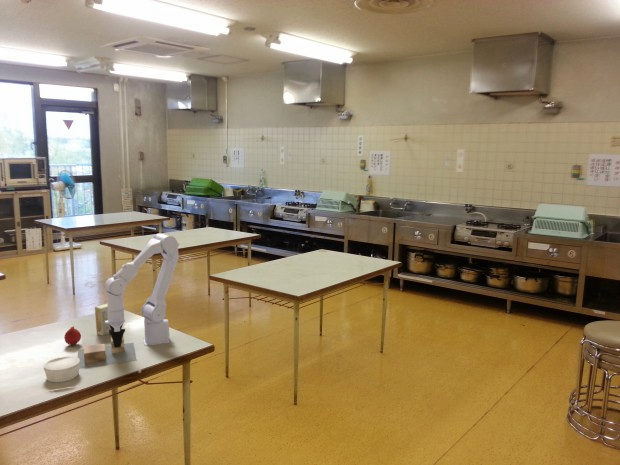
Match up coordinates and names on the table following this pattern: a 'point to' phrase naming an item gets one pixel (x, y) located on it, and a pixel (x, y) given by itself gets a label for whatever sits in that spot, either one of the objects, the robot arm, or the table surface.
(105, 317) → the skincare box
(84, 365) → the mat
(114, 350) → the birch block
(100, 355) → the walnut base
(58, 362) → the ramekin
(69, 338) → the onion
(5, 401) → the table surface
